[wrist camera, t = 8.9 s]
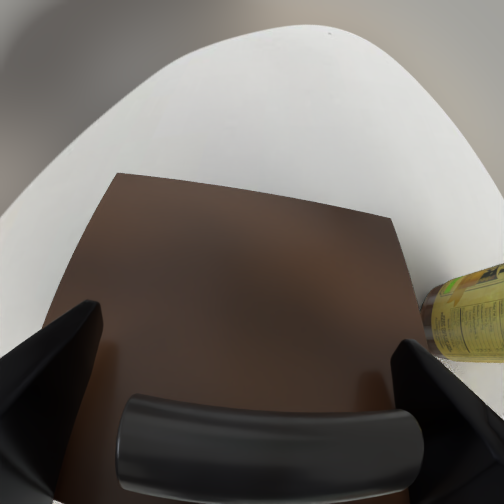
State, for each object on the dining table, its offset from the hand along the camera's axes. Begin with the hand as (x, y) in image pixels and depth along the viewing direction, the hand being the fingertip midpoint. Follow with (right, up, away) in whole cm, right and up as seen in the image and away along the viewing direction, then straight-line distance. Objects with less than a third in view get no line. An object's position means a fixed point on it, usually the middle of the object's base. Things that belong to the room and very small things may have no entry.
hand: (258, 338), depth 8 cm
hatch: (0, 0, +2) cm, 2 cm away
